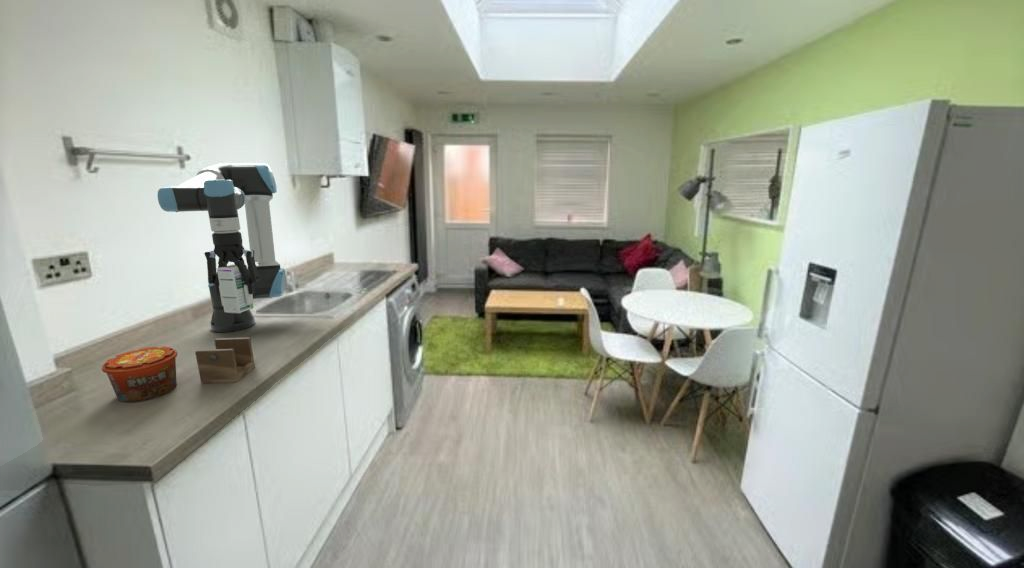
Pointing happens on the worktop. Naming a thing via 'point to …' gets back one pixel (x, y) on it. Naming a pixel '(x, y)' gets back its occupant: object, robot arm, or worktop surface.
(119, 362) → the food container
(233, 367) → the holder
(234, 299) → the syrup box
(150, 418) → the worktop surface
